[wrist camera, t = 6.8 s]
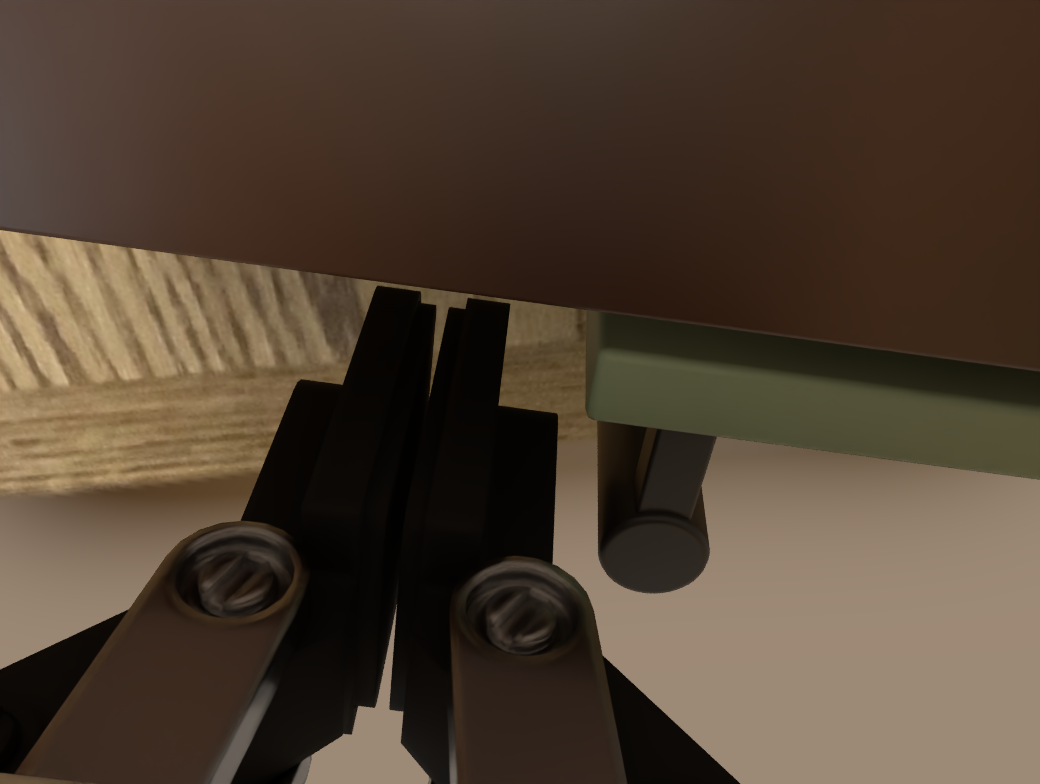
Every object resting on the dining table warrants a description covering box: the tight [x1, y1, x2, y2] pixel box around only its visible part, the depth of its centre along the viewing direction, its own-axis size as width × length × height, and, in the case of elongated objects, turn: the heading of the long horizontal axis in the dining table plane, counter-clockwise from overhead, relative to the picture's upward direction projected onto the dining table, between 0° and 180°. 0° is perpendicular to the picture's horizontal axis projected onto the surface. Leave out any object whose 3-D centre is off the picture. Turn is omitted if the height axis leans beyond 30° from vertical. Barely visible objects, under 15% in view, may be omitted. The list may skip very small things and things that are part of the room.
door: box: [586, 310, 1040, 593], centre depth 12 cm, size 7×4×7 cm, turn 83°
